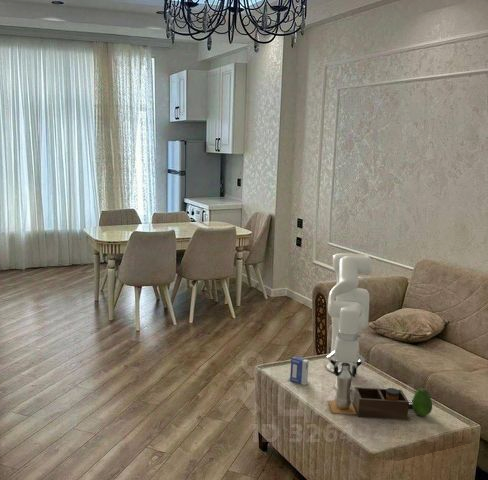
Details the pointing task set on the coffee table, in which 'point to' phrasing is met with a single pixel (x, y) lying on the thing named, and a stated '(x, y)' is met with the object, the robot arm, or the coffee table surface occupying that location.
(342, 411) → the cork mat
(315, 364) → the coffee table surface
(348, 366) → the metal flask
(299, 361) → the walkman
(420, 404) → the fruit
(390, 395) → the spice jar
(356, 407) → the brown divided box
